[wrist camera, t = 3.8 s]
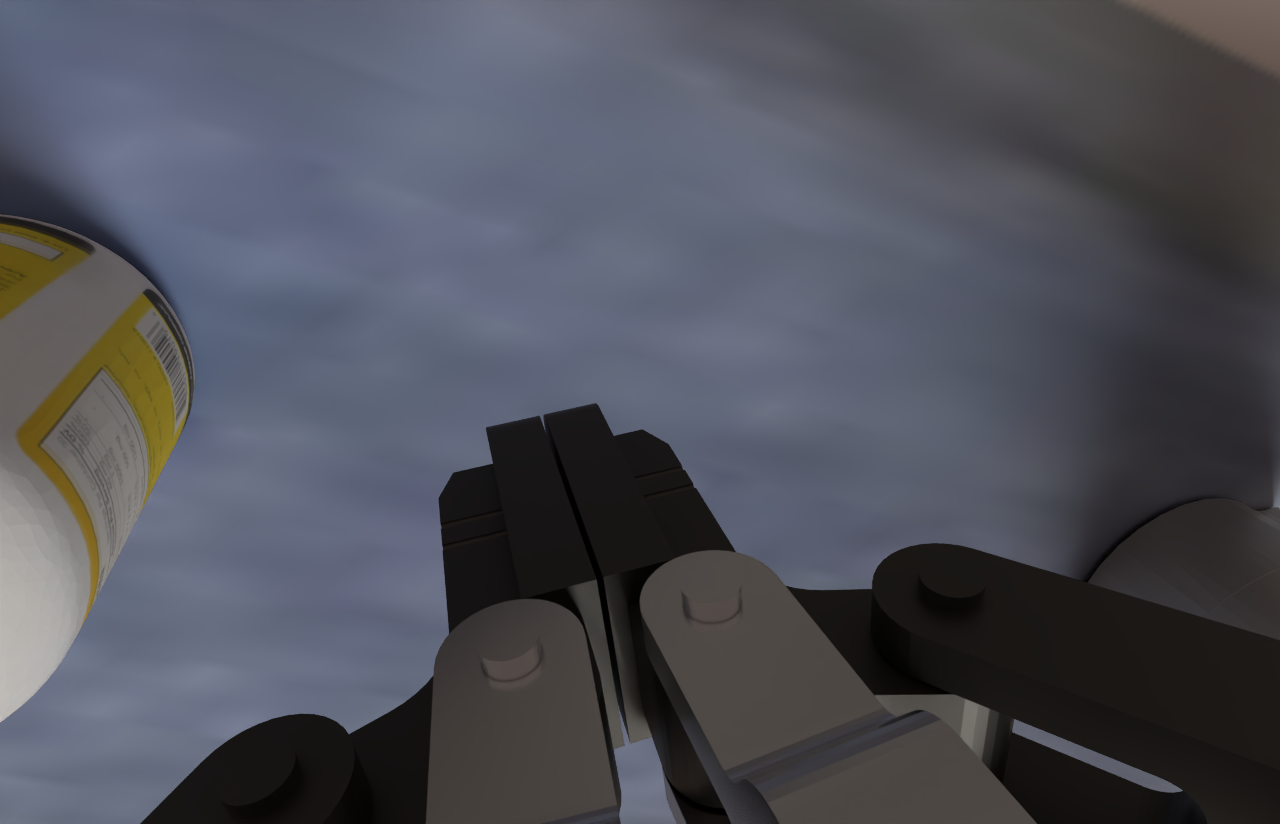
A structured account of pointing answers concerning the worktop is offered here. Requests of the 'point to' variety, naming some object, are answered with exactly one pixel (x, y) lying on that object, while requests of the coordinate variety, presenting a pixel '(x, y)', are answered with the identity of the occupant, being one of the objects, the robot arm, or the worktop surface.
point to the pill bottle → (74, 432)
